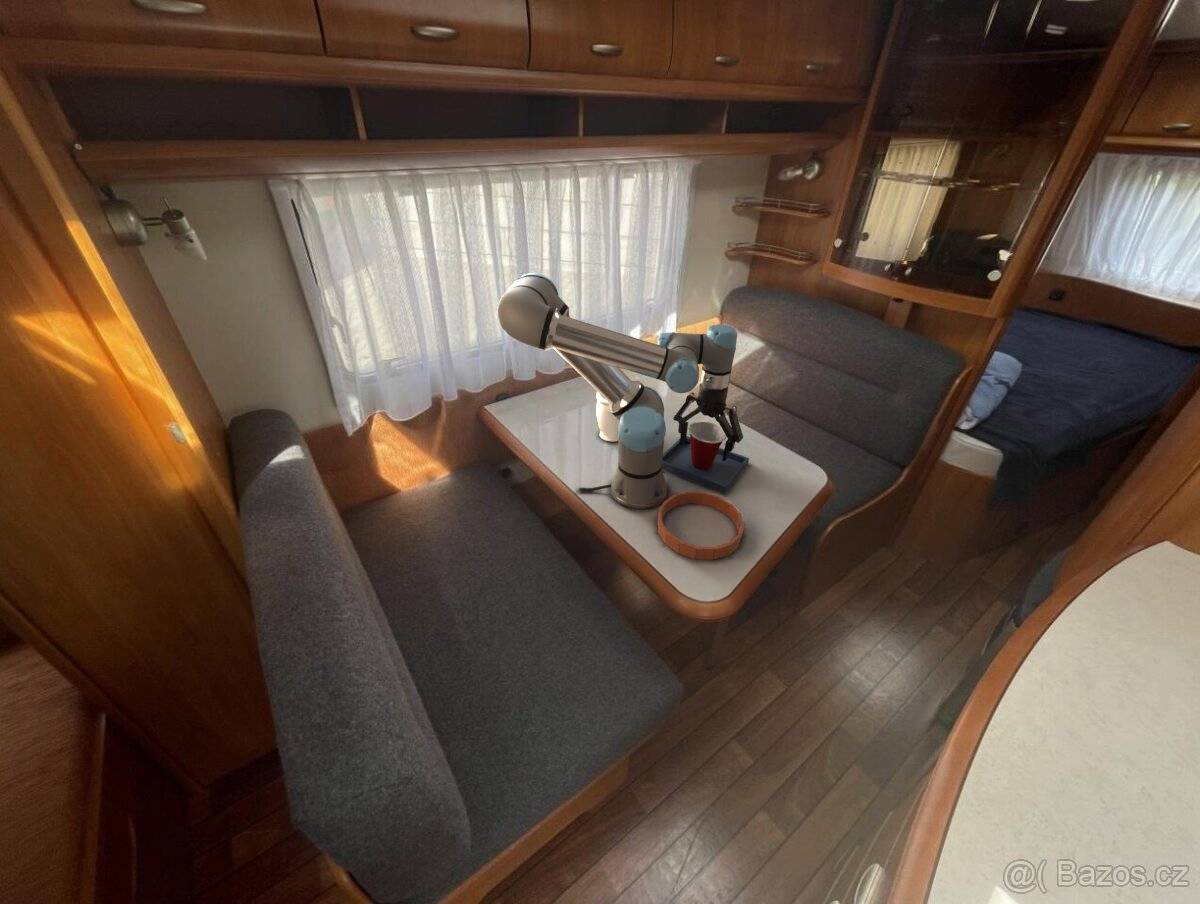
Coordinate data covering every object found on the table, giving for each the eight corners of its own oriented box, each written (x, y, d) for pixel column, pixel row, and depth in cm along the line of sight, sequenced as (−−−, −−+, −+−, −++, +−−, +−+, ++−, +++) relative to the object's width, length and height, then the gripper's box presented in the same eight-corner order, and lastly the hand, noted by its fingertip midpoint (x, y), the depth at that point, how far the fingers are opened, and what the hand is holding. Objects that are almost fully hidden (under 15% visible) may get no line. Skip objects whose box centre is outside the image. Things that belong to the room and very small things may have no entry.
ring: (659, 557, 112) (660, 547, 110) (656, 500, 129) (656, 490, 127) (748, 561, 111) (751, 550, 109) (733, 502, 128) (735, 492, 126)
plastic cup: (721, 477, 136) (727, 442, 129) (683, 473, 138) (687, 438, 131) (721, 456, 145) (727, 422, 138) (685, 452, 146) (689, 418, 140)
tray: (656, 466, 141) (656, 459, 140) (682, 441, 152) (683, 434, 151) (724, 494, 131) (725, 487, 129) (747, 465, 142) (749, 458, 140)
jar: (614, 423, 161) (615, 383, 153) (635, 436, 155) (637, 395, 146) (590, 434, 156) (589, 393, 147) (610, 447, 149) (611, 406, 141)
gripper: (665, 376, 130) (659, 441, 142) (754, 404, 118) (739, 472, 130) (679, 367, 135) (671, 431, 147) (765, 392, 123) (749, 459, 135)
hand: (703, 450), depth 138 cm, fingers open, 13 cm apart
